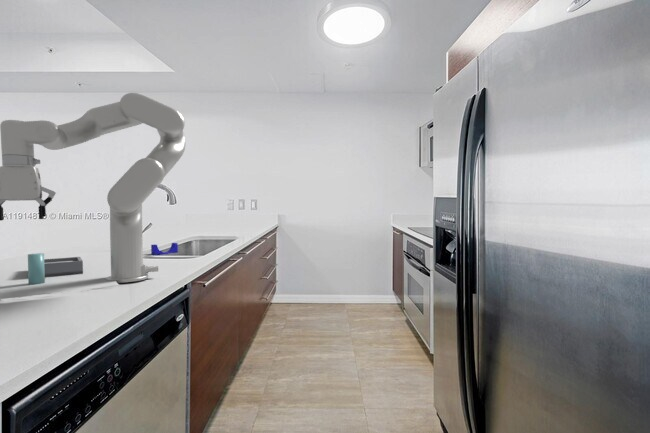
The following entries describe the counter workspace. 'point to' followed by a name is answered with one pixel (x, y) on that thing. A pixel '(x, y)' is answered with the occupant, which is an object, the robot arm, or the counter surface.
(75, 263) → the walled box
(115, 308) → the counter surface
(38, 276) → the teal cylinder
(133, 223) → the robot arm
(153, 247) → the cable clip
